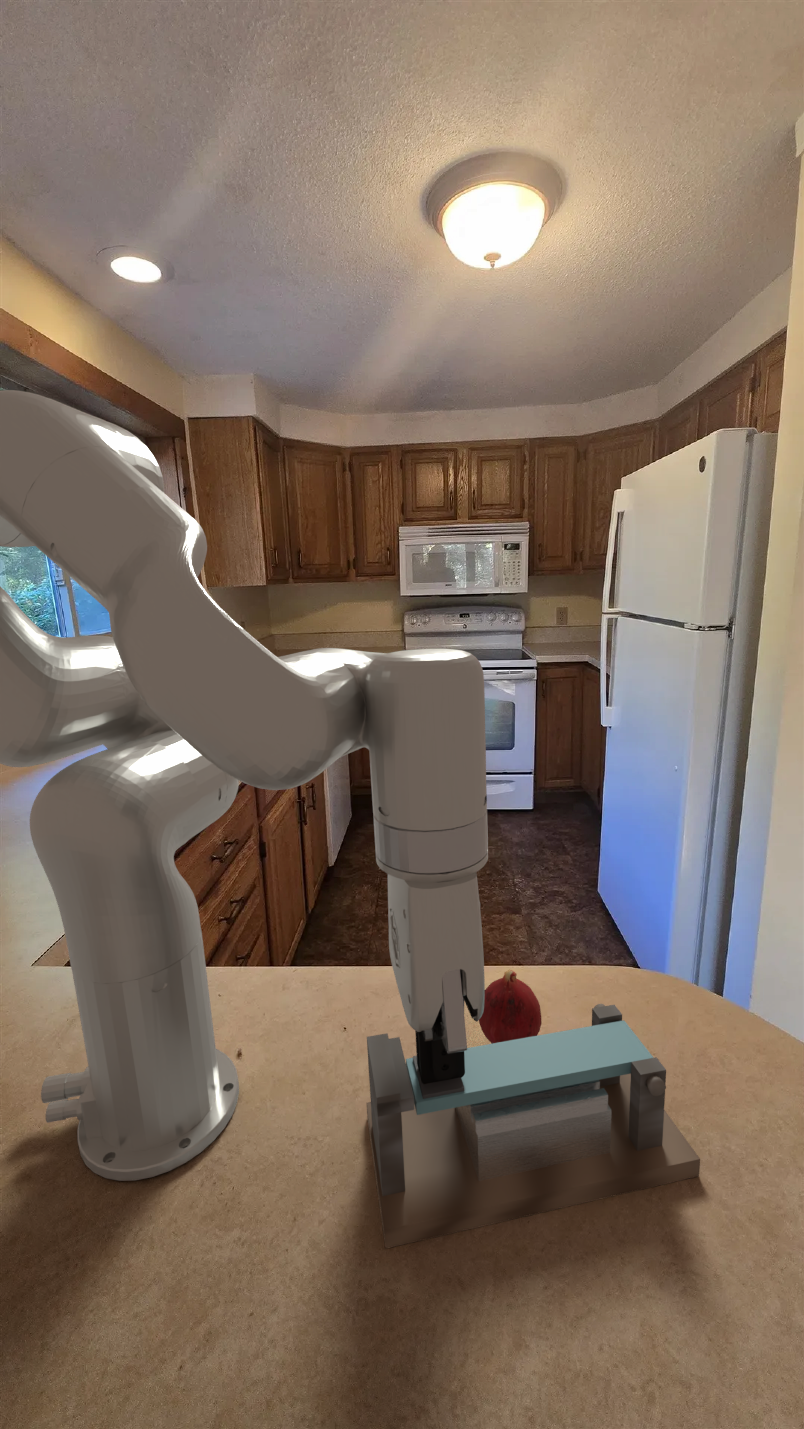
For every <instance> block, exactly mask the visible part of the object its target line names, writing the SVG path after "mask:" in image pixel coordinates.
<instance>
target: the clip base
mask: <svg viewBox="0 0 804 1429" xmlns="http://www.w3.org/2000/svg"><path fill="white" fill-rule="evenodd" d="M617 1021H623V1013H622V1012H621V1011H620V1010H619V1009H618V1007H617V1005H616V1004H610V1005H606V1004H604V1003H597V1004H596V1005H594V1007H593V1008H591V1026H594V1025H600V1024H606V1023H611V1022H617ZM400 1038H401V1037H400V1036H398V1037H396V1036H395V1037H391V1038H389V1033H388V1032H386V1033H382V1034H375V1035H369V1036H368V1035H367V1036H366V1047H367V1062H368V1064H367V1065H368V1081H369V1091H370V1092H369V1093H370V1094H369V1096H370V1101H369V1102H366V1114H367V1116H366V1118H367V1125H368V1126H367V1127H368V1132H369V1139H370V1148H371V1153H372V1160H373V1169H374V1175H375V1176H374V1177H375V1183H376V1190H377V1196H378V1205H379V1211H380V1219H381V1226H382V1234H383V1240H384V1246H385V1249H388V1248H389V1249H390V1248H394V1247H397V1246H403V1245H407V1244H410V1243H414V1242H421V1241H424V1240H429V1239H432V1238H436V1237H437V1238H438V1237H441V1236H446V1235H448V1234H449V1235H450V1234H455V1233H458V1232H462V1231H467V1230H471V1229H475V1228H476V1229H477V1228H480V1227H485V1226H488V1225H489V1226H490V1225H493V1224H497V1223H502V1222H506V1221H511V1220H515V1219H519V1218H523V1217H528V1216H533V1215H536V1214H541V1213H545V1212H550V1211H553V1210H558V1209H563V1208H566V1207H571V1206H576V1205H579V1204H584V1203H587V1202H589V1203H590V1202H593V1201H596V1200H597V1201H598V1200H602V1199H606V1198H610V1197H613V1196H614V1197H615V1196H619V1195H623V1194H628V1193H632V1192H635V1191H641V1190H644V1189H649V1188H654V1187H657V1186H662V1185H667V1184H670V1183H674V1182H679V1181H683V1180H688V1179H693V1178H696V1177H700V1166H701V1158H700V1157H699V1155H698V1154H697V1153H696V1151H695V1150H694V1148H693V1147H692V1146H691V1144H690V1143H689V1142H688V1140H687V1139H686V1138H685V1136H684V1134H683V1133H682V1132H681V1130H680V1129H679V1127H678V1126H677V1125H676V1123H675V1122H674V1121H673V1120H672V1118H671V1116H670V1115H669V1114H668V1113H667V1111H666V1110H665V1100H666V1089H667V1086H666V1083H667V1082H666V1081H667V1080H666V1079H667V1069H666V1067H665V1066H664V1065H663V1064H662V1062H661V1061H660V1060H659V1059H658V1058H657V1056H654V1058H649V1059H644V1060H639V1061H634V1062H631V1074H626V1075H621V1076H616V1077H610V1078H605V1079H600V1080H599V1081H600V1089H602V1088H604V1089H605V1091H606V1092H607V1094H608V1105H609V1107H610V1108H611V1140H610V1153H606V1154H602V1155H597V1156H593V1157H588V1158H583V1159H579V1160H574V1161H570V1162H565V1163H560V1164H556V1165H551V1166H547V1167H542V1168H537V1169H533V1170H528V1171H524V1172H519V1173H514V1174H510V1175H505V1176H501V1177H496V1178H491V1179H487V1180H482V1181H479V1180H478V1177H477V1174H476V1171H475V1167H474V1164H473V1161H472V1158H471V1155H470V1152H469V1148H468V1145H467V1142H466V1139H465V1136H464V1133H463V1130H462V1126H461V1123H460V1120H459V1117H458V1114H457V1111H456V1108H451V1109H446V1110H440V1111H435V1112H430V1113H425V1114H420V1115H417V1113H416V1109H415V1104H414V1096H413V1092H412V1088H411V1083H410V1079H409V1075H408V1071H407V1067H406V1058H405V1055H404V1050H403V1045H402V1042H401V1039H400Z"/></svg>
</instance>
